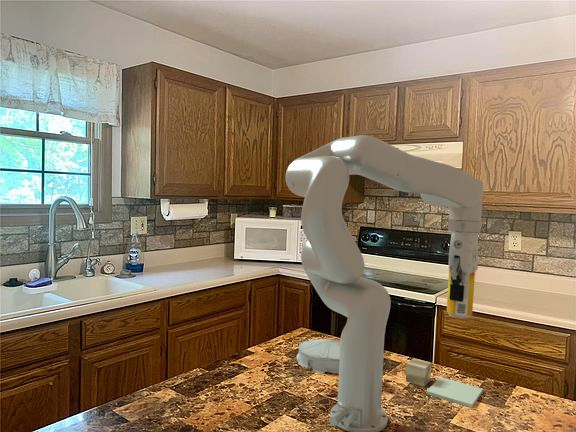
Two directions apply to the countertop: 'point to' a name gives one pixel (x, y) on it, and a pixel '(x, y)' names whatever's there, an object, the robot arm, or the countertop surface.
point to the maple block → (418, 372)
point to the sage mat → (455, 392)
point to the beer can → (466, 305)
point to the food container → (320, 355)
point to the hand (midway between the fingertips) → (460, 297)
